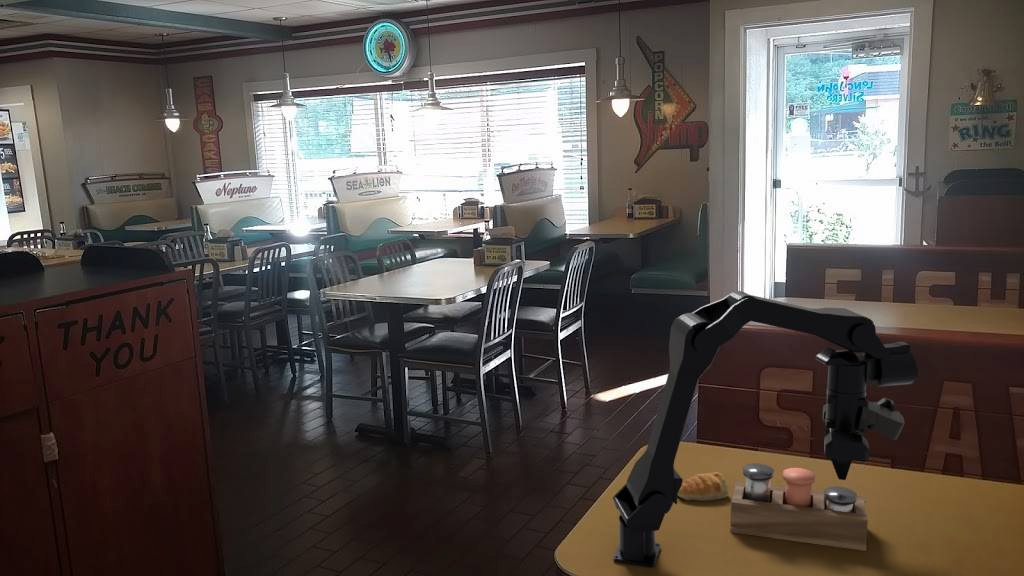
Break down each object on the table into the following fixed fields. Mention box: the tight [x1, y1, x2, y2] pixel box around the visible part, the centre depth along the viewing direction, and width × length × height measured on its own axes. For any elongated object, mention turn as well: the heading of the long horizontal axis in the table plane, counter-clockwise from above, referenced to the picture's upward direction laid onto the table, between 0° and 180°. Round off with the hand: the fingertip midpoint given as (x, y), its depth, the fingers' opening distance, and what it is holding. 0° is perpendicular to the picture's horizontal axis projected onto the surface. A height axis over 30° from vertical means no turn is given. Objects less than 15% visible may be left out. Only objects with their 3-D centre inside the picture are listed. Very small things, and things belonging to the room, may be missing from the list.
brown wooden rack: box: [729, 481, 868, 552], centre depth 134 cm, size 9×21×5 cm, turn 70°
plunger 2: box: [823, 485, 858, 513], centre depth 131 cm, size 5×5×6 cm
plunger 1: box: [742, 463, 775, 503], centre depth 135 cm, size 5×5×6 cm
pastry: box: [677, 471, 730, 502], centre depth 148 cm, size 9×7×4 cm
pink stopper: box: [782, 467, 816, 508], centre depth 133 cm, size 5×5×6 cm
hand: (841, 478), depth 130 cm, fingers closed
